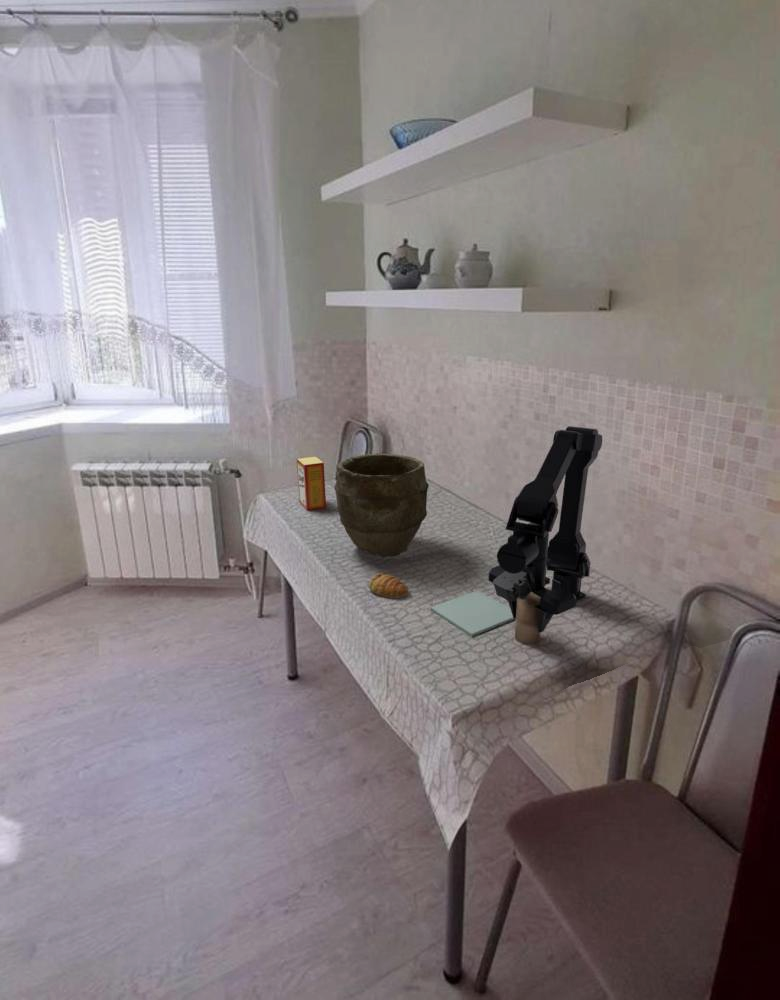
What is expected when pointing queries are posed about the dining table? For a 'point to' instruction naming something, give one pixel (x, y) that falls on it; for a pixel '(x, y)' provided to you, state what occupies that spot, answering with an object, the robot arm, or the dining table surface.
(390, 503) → the clay pot
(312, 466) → the baking soda box
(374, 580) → the pastry
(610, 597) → the dining table surface
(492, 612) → the card
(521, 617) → the brown rounded cylinder
